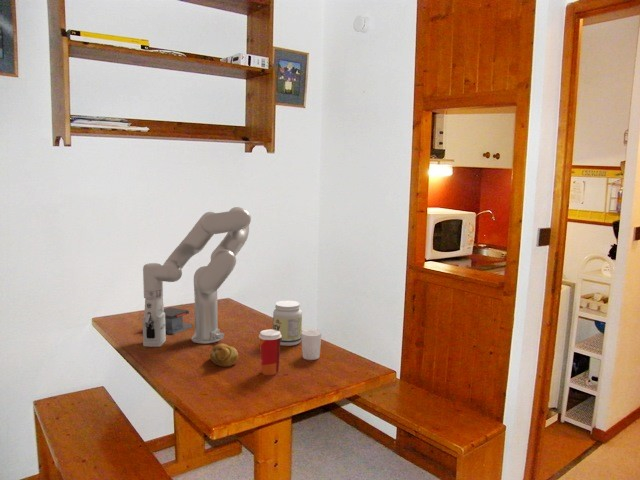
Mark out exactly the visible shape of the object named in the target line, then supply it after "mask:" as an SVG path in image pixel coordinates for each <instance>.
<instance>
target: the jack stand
mask: <svg viewBox="0 0 640 480" xmlns="http://www.w3.org/2000/svg"><path fill="white" fill-rule="evenodd" d="M164 313H165V330H166V335H172V336H174V335H176V334H178V333H181V332H183V331H187V330H188V329H190V328H193V324H191V323H187V322H186V323H185V322H184V320H183V319H184V318H183V316H187V315H188V314H189V313H190V311H189V310H188V309H184V308H183V309H182V308H177V307H171V306H169V307H166V308H164Z"/></svg>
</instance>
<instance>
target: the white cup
mask: <svg viewBox="0 0 640 480" xmlns="http://www.w3.org/2000/svg"><path fill="white" fill-rule="evenodd" d="M301 338H302V339H301V350H302V351H301V352H302V358H303V359H304V360H308V361H313V360H314V361H315V360H317V359H319V358H320V355H321V354H320V353H321V345H322V331H320V330H318V329H304V330H302V332H301Z"/></svg>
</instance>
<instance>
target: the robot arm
mask: <svg viewBox="0 0 640 480" xmlns="http://www.w3.org/2000/svg"><path fill="white" fill-rule="evenodd" d="M251 221H252V216H251V215H250V212H249V211H248V210H246V209H244V208H242V207H240V206H234V207H232V208H231V209H230V210H229V211H221V212H213V211H208V212H205V213H204V214H203V215H202V216H201V217H200V218H199V219H198V221H196V223H195V224H194V225H193V227H192V229H191V230H190V231H189V232H188V233H187V234H186V236H185V237H184V238H183V240H182V241H181V242H180V243H179V244H178V246H176V248H175V249H174V250H173V251H172V252H171V254H170V255H169V256H168V257H167V258H166V260H165V261H164V263H163V265H162V264H160V263H157V262H151V263H147V264H146V263H145V264H144V265H143V267H142V276H143V277H142V279H143V281H142V282H143V283H142V284H143V299H144V316H145V324H146V334H147V338H155V329H153V328H154V322H155V323H157V322H158V316H160V315H161V314H162V313H164V309H165V306H164V292H163V291H164V290H163V289H164V285H163V283H164V282H166V283H174V282H179V280H180V279H181V278H182V276H183V268H184V267H185V265H186V264H187V263H188V262H189V260H190V259H192V257H194V256H195V255H197V254H199V253H200V252H201V251H202V250H204V248H205V246H206V245H207V244H208V243H209V241H210V240H211V239H212V237H213V236H214V235H218V234H225V233H226V235H225V236H224V237H223V239H222V240H221V241H220V242H219V244H218V245H217V246H216V248H215V249H213V251H212V253H211V254H210V262H209V263H208V264H207V265H204V266H200V267H198V268H197V269H196V270H195V272H194V274H193V291H194V295H193V296H194V334H193V335H192V336H191V337H190V338H191V341H192V342H193V343H195V344H196V343H197V344H204V345H205V344H213V343H217V342H219V341H221V340H223V339H224V337H225V332H221V331H220V328H218V319H219V317H218V290H219V289H220V288H221V286H222V285H223V284H224V282H225V281H226V280H227V278H228V277H229V276H230V275H231V273H232V272H233V271H234V269H235V266H236V264H237V258H236V256H237V255H238V253H239V252H240V251H241V249H242V247H244V245H245V243H246V242H247V240H248V237H249V234H250V224H251ZM150 318H152V320H153V321H150ZM150 323H152V325H151V324H150Z"/></svg>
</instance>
